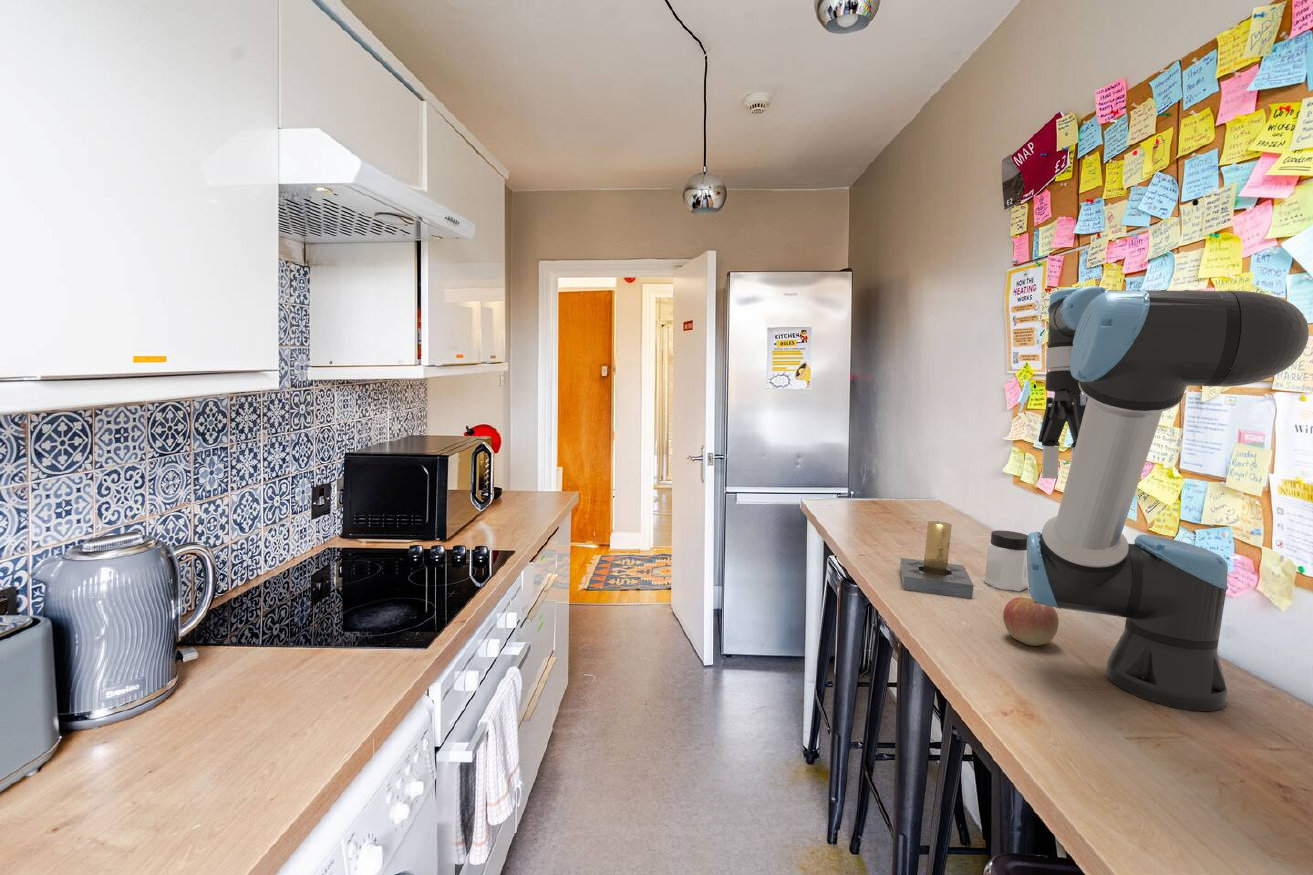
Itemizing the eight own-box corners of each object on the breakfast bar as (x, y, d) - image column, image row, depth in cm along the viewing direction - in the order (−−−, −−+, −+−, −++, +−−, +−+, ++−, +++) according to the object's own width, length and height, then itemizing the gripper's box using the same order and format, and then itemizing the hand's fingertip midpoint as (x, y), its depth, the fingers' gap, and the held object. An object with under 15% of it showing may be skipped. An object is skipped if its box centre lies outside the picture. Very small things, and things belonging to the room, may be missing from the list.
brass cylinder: (946, 588, 152) (952, 527, 151) (922, 585, 154) (928, 524, 152) (944, 581, 157) (950, 522, 156) (921, 578, 159) (927, 520, 157)
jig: (972, 598, 146) (973, 585, 146) (903, 589, 150) (904, 576, 150) (962, 577, 161) (963, 565, 161) (899, 569, 165) (900, 557, 165)
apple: (1023, 652, 118) (1028, 608, 118) (990, 632, 127) (994, 591, 126) (1067, 651, 120) (1072, 607, 119) (1031, 631, 129) (1035, 590, 128)
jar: (1018, 594, 151) (1023, 541, 149) (980, 584, 157) (985, 533, 155) (1031, 586, 157) (1037, 535, 156) (994, 577, 163) (999, 528, 161)
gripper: (1122, 365, 118) (1117, 487, 118) (1062, 376, 143) (1058, 477, 143) (1075, 364, 119) (1070, 485, 120) (1024, 375, 144) (1019, 475, 144)
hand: (1063, 481), depth 131 cm, fingers open, 13 cm apart
